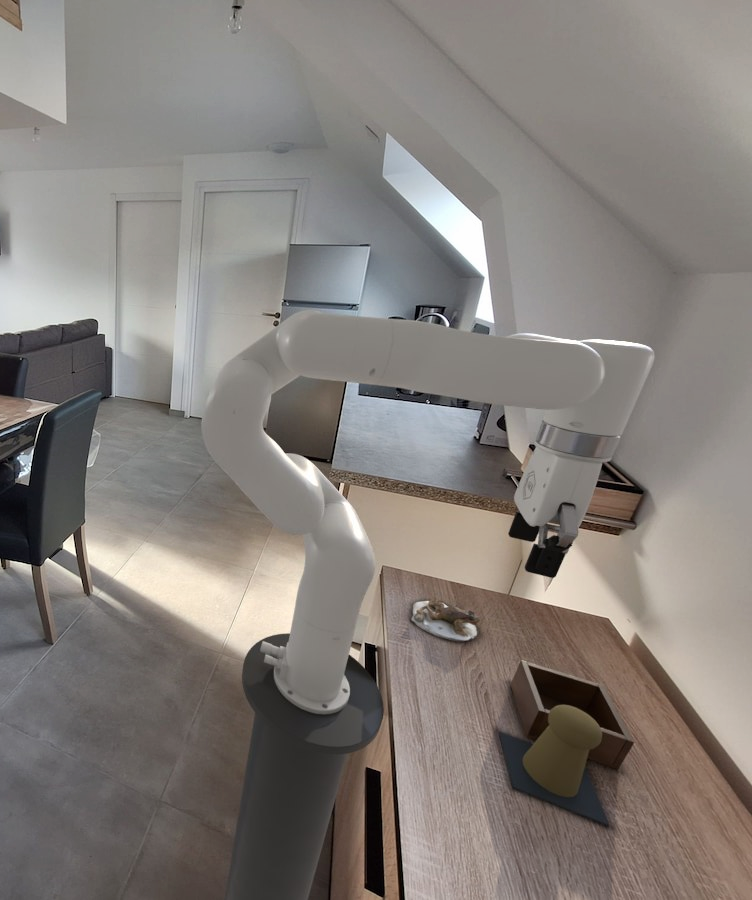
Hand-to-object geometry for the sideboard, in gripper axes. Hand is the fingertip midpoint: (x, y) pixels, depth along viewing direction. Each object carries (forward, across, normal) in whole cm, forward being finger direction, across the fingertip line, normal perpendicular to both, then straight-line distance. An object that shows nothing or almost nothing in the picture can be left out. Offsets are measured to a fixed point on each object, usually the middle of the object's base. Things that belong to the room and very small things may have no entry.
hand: (529, 555), depth 63 cm
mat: (+28, +9, +8) cm, 31 cm away
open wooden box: (+28, -2, +12) cm, 31 cm away
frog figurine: (+28, -20, -2) cm, 35 cm away
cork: (+28, +9, +8) cm, 31 cm away
